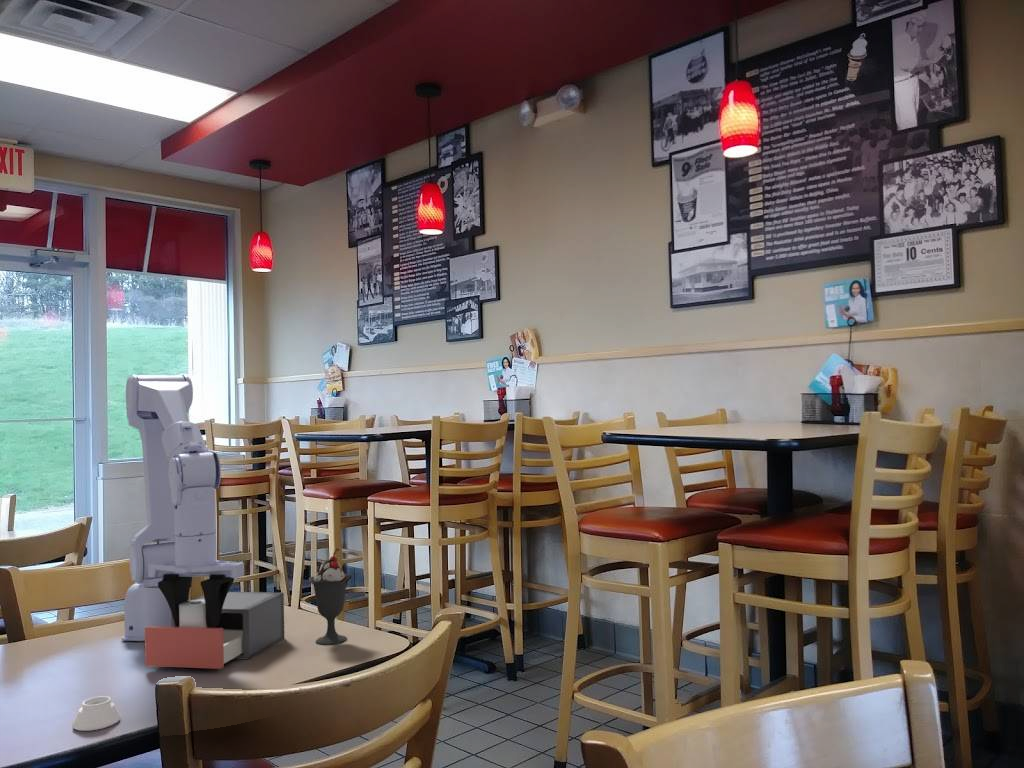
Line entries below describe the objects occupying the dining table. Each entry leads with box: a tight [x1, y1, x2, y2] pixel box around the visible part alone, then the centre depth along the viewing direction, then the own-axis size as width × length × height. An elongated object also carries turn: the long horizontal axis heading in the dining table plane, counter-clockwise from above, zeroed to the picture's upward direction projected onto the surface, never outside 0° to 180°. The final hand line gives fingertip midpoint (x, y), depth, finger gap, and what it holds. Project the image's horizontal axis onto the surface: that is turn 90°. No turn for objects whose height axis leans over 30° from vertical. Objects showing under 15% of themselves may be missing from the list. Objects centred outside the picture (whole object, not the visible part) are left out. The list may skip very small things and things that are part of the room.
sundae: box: [308, 547, 352, 646], centre depth 128 cm, size 7×7×15 cm
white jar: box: [72, 695, 121, 732], centre depth 96 cm, size 5×3×5 cm
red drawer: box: [144, 626, 243, 670], centre depth 119 cm, size 12×11×6 cm
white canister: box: [179, 599, 207, 628], centre depth 118 cm, size 5×5×5 cm
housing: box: [171, 591, 285, 660], centre depth 126 cm, size 13×11×7 cm
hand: (197, 626), depth 118 cm, fingers closed on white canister, 5 cm apart
